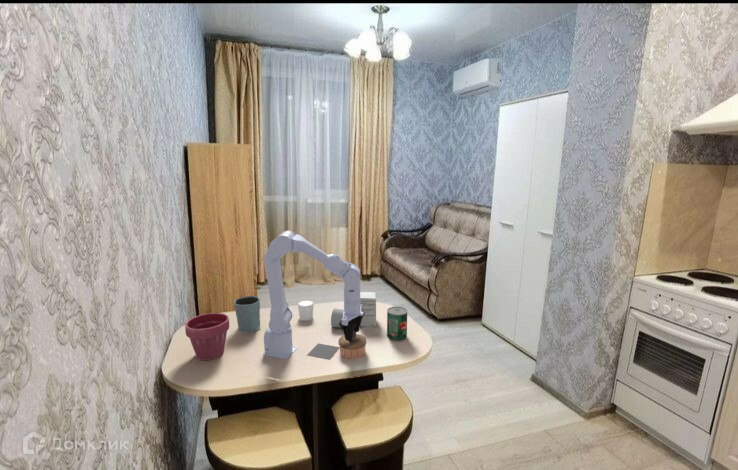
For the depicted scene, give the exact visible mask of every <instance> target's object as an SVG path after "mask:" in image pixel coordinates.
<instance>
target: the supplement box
mask: <svg viewBox="0 0 738 470" xmlns="http://www.w3.org/2000/svg"><path fill="white" fill-rule="evenodd" d="M360 304H362V310H361V311H363V312H365V314H364V316H363V318H362V321H361V325H360V327H371V328H372V327H376V326H377V292H375V291H369V292H368V291H360Z"/></svg>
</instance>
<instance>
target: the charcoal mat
mask: <svg viewBox="0 0 738 470" xmlns="http://www.w3.org/2000/svg"><path fill="white" fill-rule="evenodd" d="M339 350H340V346H335V345H329V344H324V343H319V342H318V343H317V344H315V346H314V347H313V348H312V349H311V350H310V351H309V352H308V353H307V355H306V356H308V357H314V358H319V359H323V360H329V361H330V360H331V359H332V358H333V357H334V356H335V354H336V353H337V352H338V351H339Z"/></svg>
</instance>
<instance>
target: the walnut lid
mask: <svg viewBox="0 0 738 470" xmlns="http://www.w3.org/2000/svg"><path fill="white" fill-rule="evenodd" d="M366 345H367V338H366V337H365V336H364V335H361V334H359V333H357V332H355V331H353V338H352V341H347V340H346V339H345V336H344V335H342V336H340V337H339V339H338V347H342V348H344V349H350V350H354V349H359V348H362V347H364V346H365V347H366Z"/></svg>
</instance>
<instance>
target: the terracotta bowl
mask: <svg viewBox="0 0 738 470" xmlns="http://www.w3.org/2000/svg"><path fill="white" fill-rule="evenodd" d="M339 347H340V346H339ZM339 354H340V356H341V357H343V358H345V359H359V358H361V357H363V356H365V354H366V345H365V346H364V347H362V348H359V349H354V350H350V349H344V348H342V347H340V348H339Z"/></svg>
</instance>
